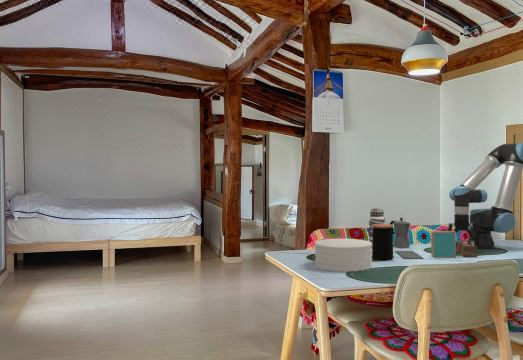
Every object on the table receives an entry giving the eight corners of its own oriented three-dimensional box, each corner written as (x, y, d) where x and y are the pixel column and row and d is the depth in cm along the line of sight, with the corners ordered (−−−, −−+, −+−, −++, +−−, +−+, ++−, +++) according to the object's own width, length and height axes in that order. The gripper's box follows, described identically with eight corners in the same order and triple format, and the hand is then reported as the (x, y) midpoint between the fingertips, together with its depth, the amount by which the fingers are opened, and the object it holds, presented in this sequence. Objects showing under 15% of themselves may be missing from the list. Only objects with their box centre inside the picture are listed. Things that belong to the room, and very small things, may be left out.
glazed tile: (454, 256, 252) (454, 231, 251) (455, 257, 249) (455, 231, 249) (431, 256, 252) (431, 231, 252) (432, 257, 250) (432, 231, 250)
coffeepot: (415, 247, 282) (415, 218, 281) (405, 249, 277) (404, 219, 276) (395, 244, 295) (395, 216, 294) (385, 246, 289) (384, 217, 289)
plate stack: (333, 258, 253) (333, 237, 253) (381, 264, 235) (381, 241, 235) (304, 266, 231) (304, 243, 231) (355, 274, 213) (354, 249, 213)
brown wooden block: (452, 251, 267) (452, 241, 267) (464, 251, 267) (464, 241, 267) (463, 257, 250) (463, 246, 250) (477, 257, 249) (477, 246, 249)
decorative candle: (388, 252, 267) (388, 208, 267) (375, 253, 264) (374, 209, 263) (379, 249, 276) (378, 207, 275) (365, 251, 272) (365, 208, 272)
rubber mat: (412, 251, 268) (412, 250, 268) (423, 259, 246) (423, 257, 246) (394, 251, 269) (394, 250, 269) (404, 259, 247) (404, 257, 247)
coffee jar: (391, 256, 253) (391, 223, 253) (394, 260, 243) (394, 226, 242) (371, 256, 255) (371, 223, 254) (374, 260, 244) (373, 226, 244)
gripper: (442, 214, 258) (442, 254, 259) (486, 214, 257) (486, 254, 257) (438, 213, 266) (438, 251, 266) (480, 213, 264) (480, 251, 265)
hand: (461, 252), depth 262 cm, fingers open, 11 cm apart
